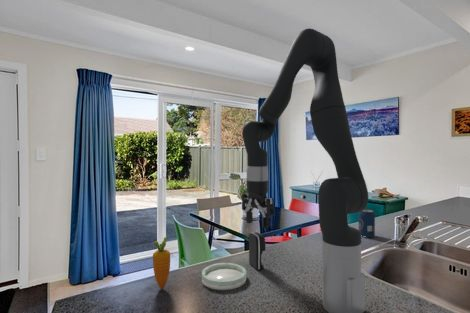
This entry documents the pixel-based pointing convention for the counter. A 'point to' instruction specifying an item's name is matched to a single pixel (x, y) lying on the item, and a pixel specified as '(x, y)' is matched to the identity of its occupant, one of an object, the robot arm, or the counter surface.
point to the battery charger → (256, 249)
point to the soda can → (367, 223)
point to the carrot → (161, 264)
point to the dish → (224, 276)
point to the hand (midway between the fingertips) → (257, 225)
